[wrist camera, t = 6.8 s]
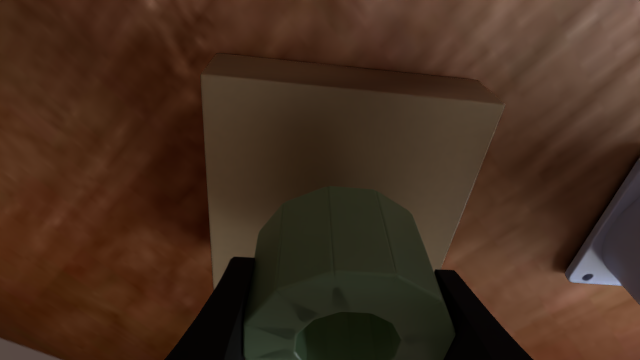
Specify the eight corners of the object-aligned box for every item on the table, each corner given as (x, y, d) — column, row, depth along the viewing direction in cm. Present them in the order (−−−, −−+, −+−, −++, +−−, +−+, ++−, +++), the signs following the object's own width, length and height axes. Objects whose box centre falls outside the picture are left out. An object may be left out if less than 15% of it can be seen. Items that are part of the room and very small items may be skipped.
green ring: (400, 310, 15) (422, 404, 12) (256, 302, 14) (242, 397, 11) (440, 193, 12) (483, 281, 9) (260, 179, 11) (242, 266, 8)
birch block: (479, 80, 15) (506, 104, 13) (415, 264, 20) (427, 303, 18) (216, 52, 14) (199, 73, 12) (223, 252, 19) (212, 291, 17)
